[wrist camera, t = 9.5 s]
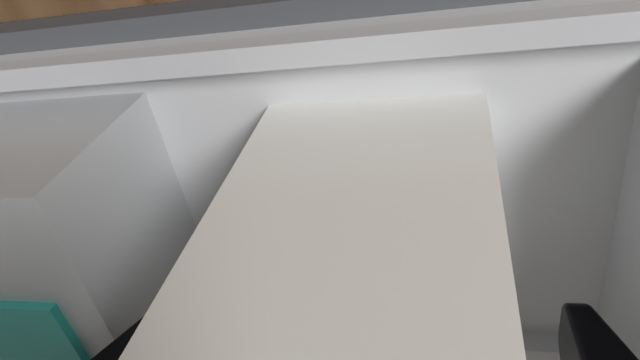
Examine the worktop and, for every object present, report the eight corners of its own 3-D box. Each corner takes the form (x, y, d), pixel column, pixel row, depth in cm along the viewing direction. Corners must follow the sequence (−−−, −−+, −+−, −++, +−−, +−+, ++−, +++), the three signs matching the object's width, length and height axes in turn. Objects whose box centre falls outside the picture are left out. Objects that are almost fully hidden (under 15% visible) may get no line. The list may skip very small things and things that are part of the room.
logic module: (486, 92, 10) (537, 433, 5) (483, 308, 14) (510, 659, 8) (268, 105, 11) (97, 395, 6) (315, 302, 15) (235, 607, 9)
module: (145, 91, 12) (25, 204, 8) (226, 307, 16) (165, 444, 12) (-17, 104, 13) (-181, 208, 10) (95, 302, 17) (6, 426, 13)
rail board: (981, -96, 8) (1115, -72, 7) (782, 323, 14) (829, 394, 12) (-22, 25, 13) (-89, 56, 12) (121, 299, 19) (90, 347, 17)
